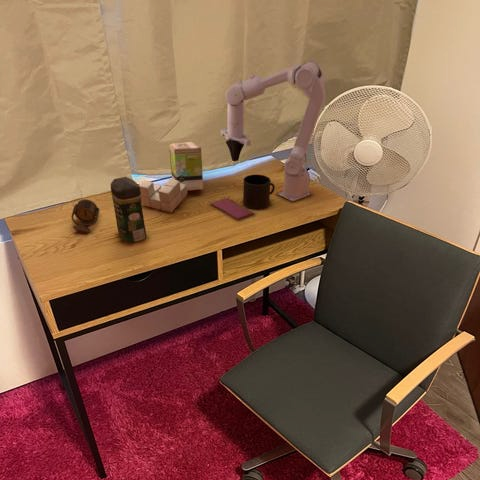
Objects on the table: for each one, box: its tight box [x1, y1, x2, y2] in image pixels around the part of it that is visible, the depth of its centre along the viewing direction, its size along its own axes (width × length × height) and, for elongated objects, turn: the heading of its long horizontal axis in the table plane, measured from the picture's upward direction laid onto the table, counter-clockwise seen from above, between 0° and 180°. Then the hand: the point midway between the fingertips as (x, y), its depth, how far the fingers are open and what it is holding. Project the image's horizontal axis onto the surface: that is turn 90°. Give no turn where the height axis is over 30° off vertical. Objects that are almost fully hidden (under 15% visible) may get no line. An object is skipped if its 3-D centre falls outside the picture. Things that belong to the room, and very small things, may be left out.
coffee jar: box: [110, 176, 147, 244], centre depth 145 cm, size 10×8×19 cm
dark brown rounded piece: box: [71, 198, 101, 234], centre depth 155 cm, size 7×13×10 cm
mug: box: [242, 174, 276, 210], centre depth 169 cm, size 9×12×9 cm
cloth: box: [210, 198, 255, 221], centre depth 167 cm, size 7×15×1 cm, turn 40°
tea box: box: [168, 141, 204, 191], centre depth 175 cm, size 15×10×15 cm, turn 15°
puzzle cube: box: [138, 178, 188, 213], centre depth 167 cm, size 12×12×8 cm
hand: (235, 160), depth 175 cm, fingers closed
